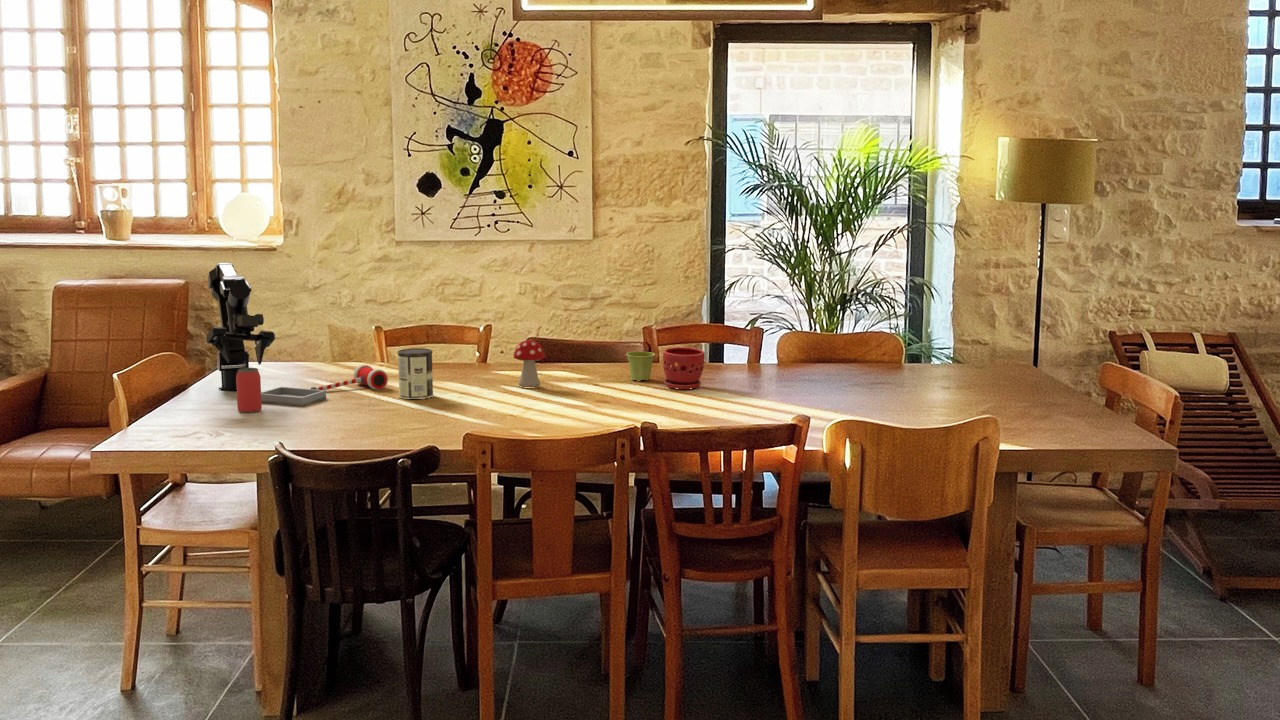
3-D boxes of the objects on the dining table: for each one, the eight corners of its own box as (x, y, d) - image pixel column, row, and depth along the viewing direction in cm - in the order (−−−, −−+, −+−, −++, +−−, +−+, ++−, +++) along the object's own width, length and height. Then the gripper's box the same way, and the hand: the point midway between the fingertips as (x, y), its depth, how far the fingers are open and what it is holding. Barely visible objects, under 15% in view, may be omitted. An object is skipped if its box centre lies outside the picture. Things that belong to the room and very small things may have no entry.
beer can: (266, 409, 366) (264, 368, 364) (252, 414, 360) (250, 372, 358) (247, 407, 368) (245, 366, 366) (232, 412, 362) (230, 370, 360)
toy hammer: (319, 397, 386) (319, 376, 385) (304, 390, 395) (303, 370, 394) (388, 389, 400) (388, 368, 399) (372, 383, 409) (371, 363, 408)
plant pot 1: (660, 379, 418) (660, 353, 416) (644, 383, 410) (645, 357, 408) (636, 376, 423) (636, 350, 421) (620, 380, 415) (620, 354, 413)
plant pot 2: (656, 389, 400) (656, 352, 398) (671, 382, 412) (671, 345, 410) (695, 393, 396) (696, 354, 394) (709, 385, 408) (710, 348, 406)
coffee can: (419, 392, 394) (418, 346, 391) (440, 396, 387) (439, 350, 384) (391, 396, 386) (390, 350, 384) (412, 401, 379) (411, 354, 377)
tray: (256, 402, 377) (256, 393, 376) (281, 394, 388) (280, 386, 387) (302, 406, 371) (302, 397, 371) (326, 398, 382) (325, 390, 382)
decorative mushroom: (547, 385, 406) (547, 338, 404) (542, 390, 398) (542, 342, 396) (516, 384, 407) (516, 337, 405) (511, 389, 399) (510, 341, 396)
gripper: (217, 299, 365) (223, 348, 360) (279, 305, 377) (286, 352, 371) (203, 318, 373) (209, 366, 367) (264, 323, 385) (271, 369, 379)
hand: (244, 363), depth 371 cm, fingers open, 9 cm apart
